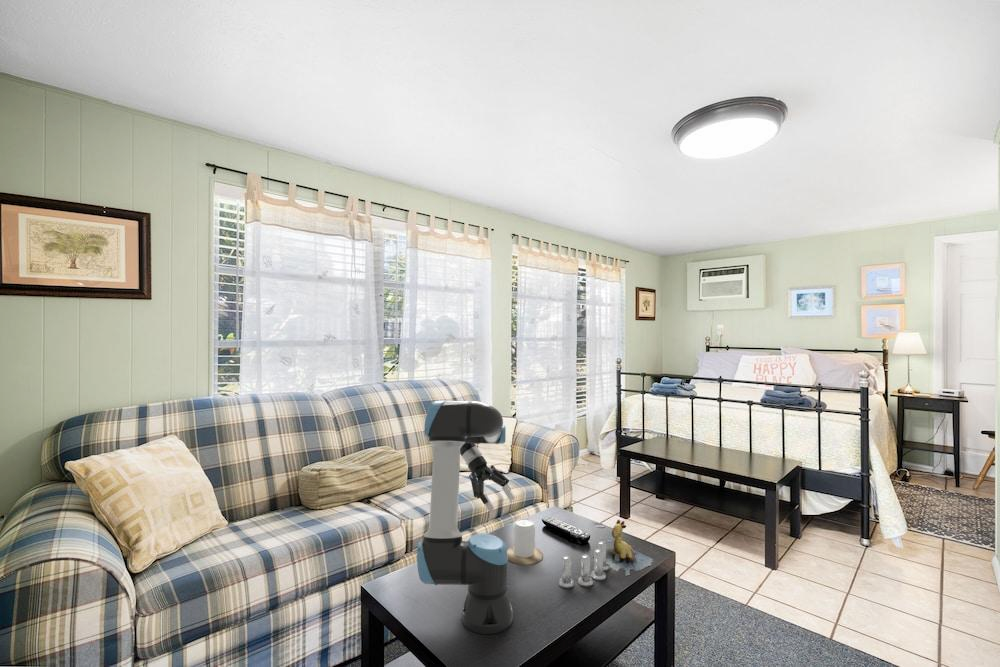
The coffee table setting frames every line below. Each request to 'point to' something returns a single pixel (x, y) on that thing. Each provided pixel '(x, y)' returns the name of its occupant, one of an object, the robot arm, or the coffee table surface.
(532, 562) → the cork coaster
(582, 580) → the posts
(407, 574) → the coffee table surface
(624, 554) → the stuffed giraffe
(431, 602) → the coffee table surface
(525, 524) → the beverage can
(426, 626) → the coffee table surface
